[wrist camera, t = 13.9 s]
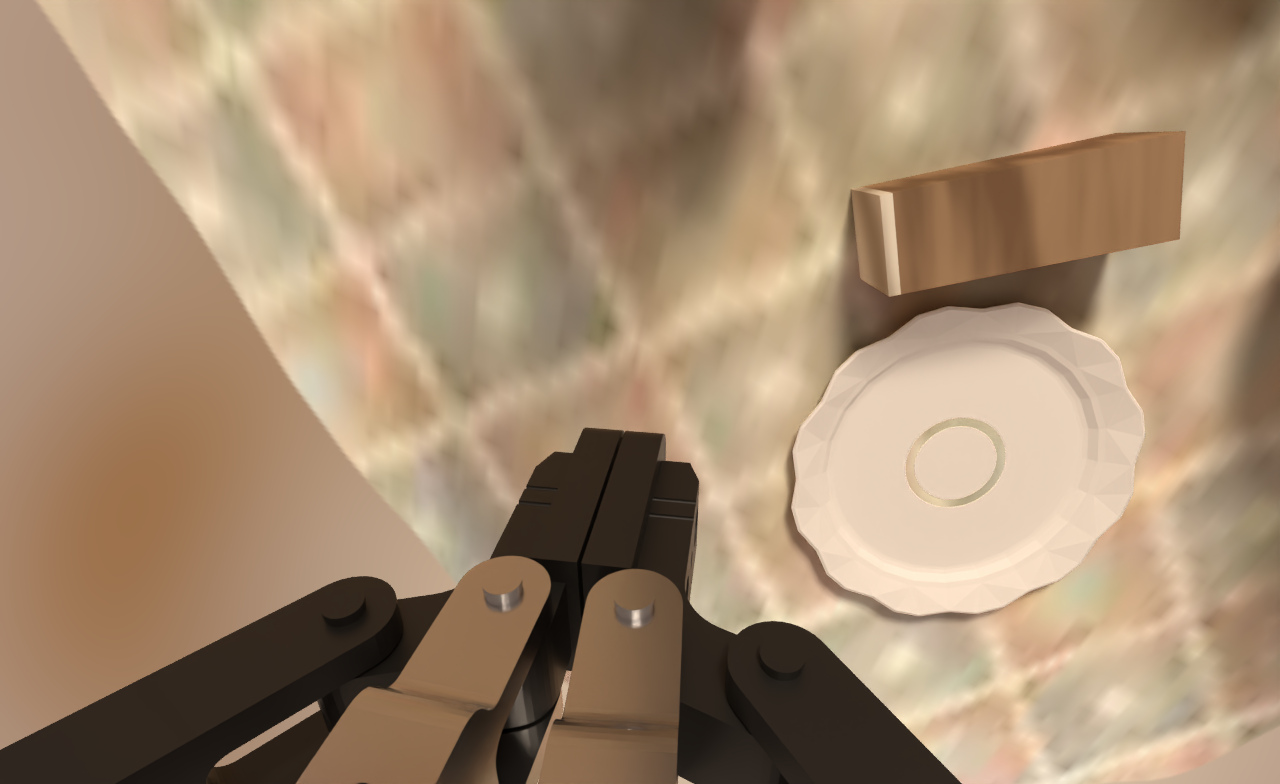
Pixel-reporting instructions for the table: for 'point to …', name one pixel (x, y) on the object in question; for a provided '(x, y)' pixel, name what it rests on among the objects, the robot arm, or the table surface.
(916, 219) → the walnut block
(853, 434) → the plate
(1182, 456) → the table surface
